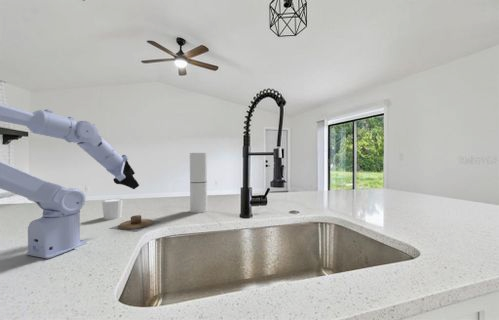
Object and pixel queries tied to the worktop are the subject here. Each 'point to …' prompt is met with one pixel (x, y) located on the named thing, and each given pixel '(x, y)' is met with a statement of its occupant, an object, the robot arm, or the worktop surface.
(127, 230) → the rubber mat
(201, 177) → the cylindrical container
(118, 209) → the white cup
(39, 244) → the robot arm
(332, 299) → the worktop surface
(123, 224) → the walnut lid
